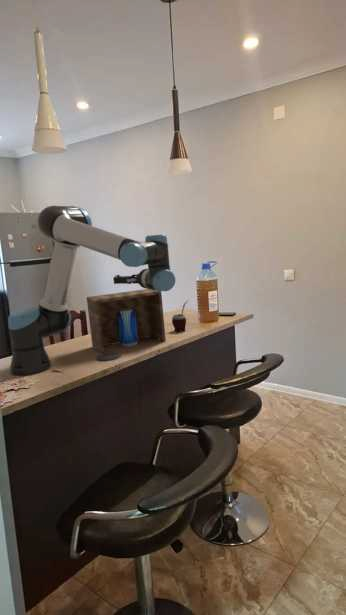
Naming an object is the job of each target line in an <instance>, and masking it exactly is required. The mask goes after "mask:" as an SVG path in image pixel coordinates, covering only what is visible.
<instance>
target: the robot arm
mask: <svg viewBox="0 0 346 615" xmlns="http://www.w3.org/2000/svg"><path fill="white" fill-rule="evenodd" d="M91 218H92V217H90V214H89V213H88V212H87V211H86V210H85V209H84V208H82V207H79V206H74V205H71V206H69V205H67V206H64V205H50V206H47V207H45V208H43V209H42V210H41V211H40V213H39V215H38V217H37V226H38V229H39V231H40V233H42V234H43V235H44V236H45V237H47V238H48V239H52V241H53V242H54V245H53V246H54V247H53V251H52V256H51V261H50V266H49V272H48V277H47V282H46V287H45V292H44V296H43V298H42V299H40V300H39V303H38V306H37V307H27V308H24V309H18V310H16V311H14V312H12V313H11V314H9V316H8V318H7V322H8V325H7V326H8V329H9V330H8V332H9V335H10V343H11V349H12V356H11V362H10V365H9V366H10V367H9V369H10V373H11V374H12V375H13V376H26V375H27V376H28V375H33V374H37V373H41V372H44V371H46V370H49V369H50V368H51V367H52V362H51V358H50V356H49V355H48V353H47V351H46V348H45V344H44V339H45V338H49V337H51V336H53V335H58V334H61V333H63V332H64V331H66V330H67V329H68V328H69V326H70V325H71V322H72V314H70V313H71V311H70V309H69V304H68V303H66V301H67V297H68V292H69V289H70V288H69V287H70V284H71V280H72V279H71V278H72V274H73V268H74V263H75V260H76V255H77V251H78V248H80V247H82V248H85V249H88V250H91V251H94V252H97V253H100V254H102V255H104V256H105V255H106V256H109V257H111V258H114V259H116V260H119V261H121V262H122V264H124V266H126V267H129V268H133V267H134V268H138V267H141V266H142V267H143V266H145V265H146V266H147V268H144V269H141V270H140V272H138V273H135V274H132V275H128V276H127V275H125V276H122V275H120V274H116V275H114V277H113V278H112V279H113V284H114V285H116V284H117V285H121V284H122V285H125V284H127V285H131V284H138V285H139V286H140V287H142V288H143V289H152V290H153V291H155V290H157V291H161V292H168V291H171V290H172V289H173V288H174V286H175V285H176V275H175V274H174V273H173V271H171V266H170V254H169V243H168V238H167V235H166V234H163V233H162V234H153V235H147V236H145V239H144V240H145V241H138V240H134V239H131V238H129V237H125V236H123V235H121V234H117V233H113V232H111V231H108V230H105V229H102V228H98V227H96V226H93V223H92V221H93V220H92V219H91Z"/></svg>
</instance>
